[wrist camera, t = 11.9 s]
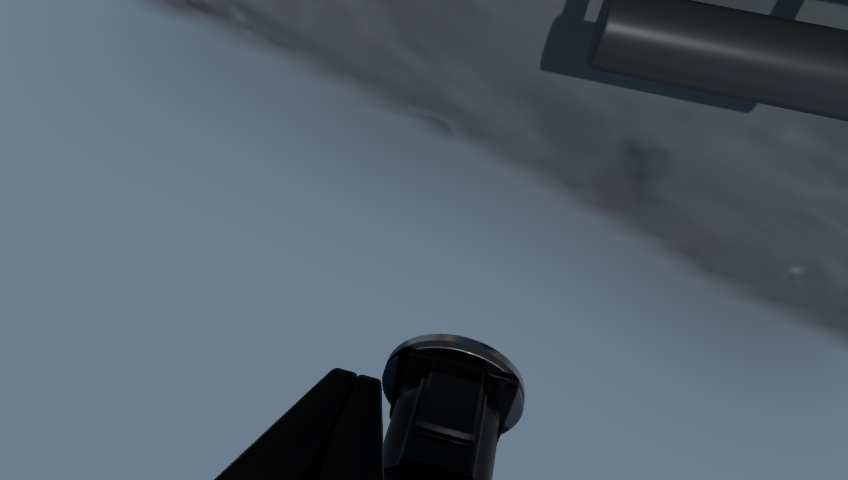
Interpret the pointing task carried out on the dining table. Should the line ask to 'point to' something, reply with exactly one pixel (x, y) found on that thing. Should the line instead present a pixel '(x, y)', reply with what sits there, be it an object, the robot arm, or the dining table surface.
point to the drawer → (725, 53)
